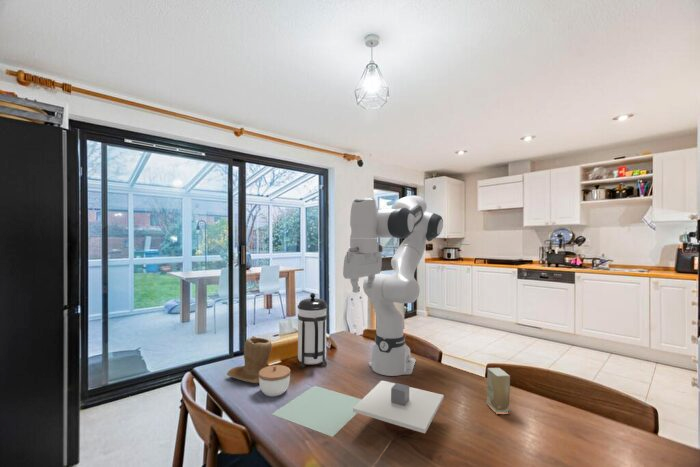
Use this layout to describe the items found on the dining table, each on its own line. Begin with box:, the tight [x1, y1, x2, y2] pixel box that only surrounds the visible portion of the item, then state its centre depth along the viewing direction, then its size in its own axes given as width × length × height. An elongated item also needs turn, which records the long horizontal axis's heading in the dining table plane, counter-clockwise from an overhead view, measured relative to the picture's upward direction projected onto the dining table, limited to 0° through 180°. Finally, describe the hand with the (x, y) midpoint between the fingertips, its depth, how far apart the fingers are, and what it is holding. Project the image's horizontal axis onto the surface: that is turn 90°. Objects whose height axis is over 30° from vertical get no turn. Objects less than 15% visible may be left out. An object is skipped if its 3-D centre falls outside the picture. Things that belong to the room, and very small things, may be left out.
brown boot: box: [226, 336, 272, 384], centre depth 124 cm, size 15×12×15 cm
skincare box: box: [486, 367, 511, 412], centre depth 102 cm, size 6×4×12 cm
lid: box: [353, 380, 445, 434], centre depth 92 cm, size 20×20×5 cm
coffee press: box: [297, 293, 328, 369], centre depth 138 cm, size 17×16×30 cm
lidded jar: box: [258, 364, 291, 397], centre depth 112 cm, size 11×11×9 cm
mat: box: [271, 385, 363, 438], centre depth 102 cm, size 22×22×1 cm
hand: (363, 290), depth 104 cm, fingers open, 8 cm apart
